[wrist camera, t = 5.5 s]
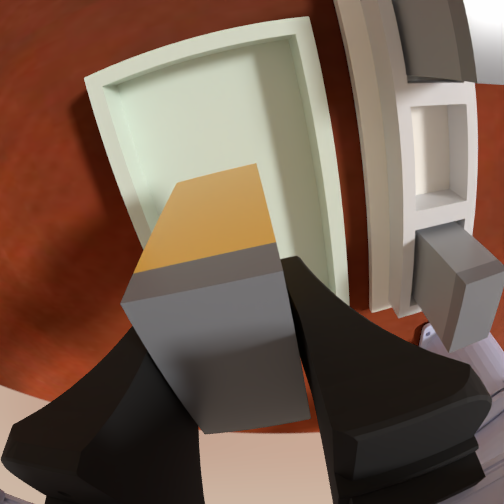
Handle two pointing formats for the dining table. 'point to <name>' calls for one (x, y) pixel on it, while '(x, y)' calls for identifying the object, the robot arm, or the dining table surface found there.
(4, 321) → the dining table surface
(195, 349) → the block
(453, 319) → the block
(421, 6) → the block
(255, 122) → the tray
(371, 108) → the fuse holder
